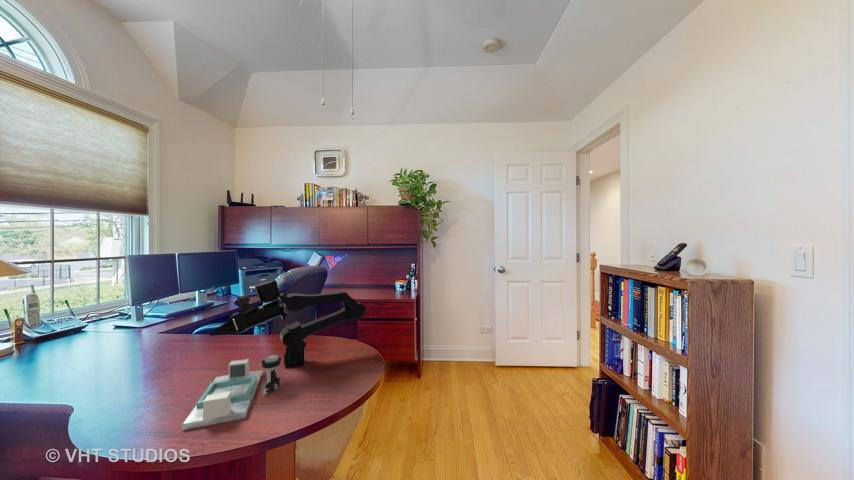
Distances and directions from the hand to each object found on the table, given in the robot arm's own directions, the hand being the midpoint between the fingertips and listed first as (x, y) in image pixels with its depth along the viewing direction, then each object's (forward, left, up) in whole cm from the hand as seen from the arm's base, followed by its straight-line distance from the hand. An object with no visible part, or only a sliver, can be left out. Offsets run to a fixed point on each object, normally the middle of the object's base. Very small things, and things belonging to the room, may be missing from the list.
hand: (211, 334), depth 93 cm
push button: (-18, +13, -16) cm, 27 cm away
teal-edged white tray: (-8, +13, -16) cm, 22 cm away
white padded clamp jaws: (-8, +13, -14) cm, 20 cm away
